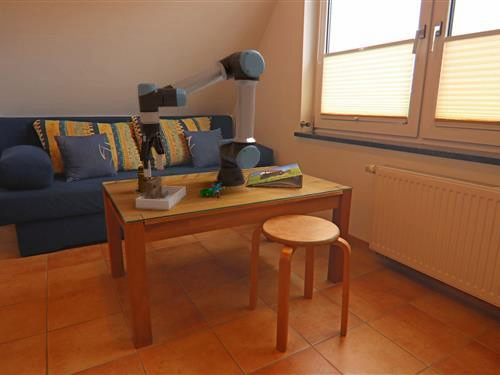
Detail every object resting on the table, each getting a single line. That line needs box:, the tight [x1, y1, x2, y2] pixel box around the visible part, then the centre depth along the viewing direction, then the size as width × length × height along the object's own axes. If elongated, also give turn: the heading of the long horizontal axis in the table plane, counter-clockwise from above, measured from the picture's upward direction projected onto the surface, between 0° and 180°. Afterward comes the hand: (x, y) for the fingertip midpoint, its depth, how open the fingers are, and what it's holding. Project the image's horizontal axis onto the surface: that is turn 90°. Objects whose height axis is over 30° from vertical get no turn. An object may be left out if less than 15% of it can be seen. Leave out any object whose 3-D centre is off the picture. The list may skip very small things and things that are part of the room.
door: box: [145, 176, 163, 199], centre depth 149 cm, size 4×10×9 cm, turn 173°
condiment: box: [133, 165, 152, 194], centre depth 164 cm, size 7×8×12 cm
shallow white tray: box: [135, 185, 187, 211], centre depth 150 cm, size 14×22×4 cm, turn 173°
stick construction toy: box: [199, 182, 226, 199], centre depth 158 cm, size 12×7×8 cm
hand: (154, 172), depth 148 cm, fingers open, 13 cm apart
